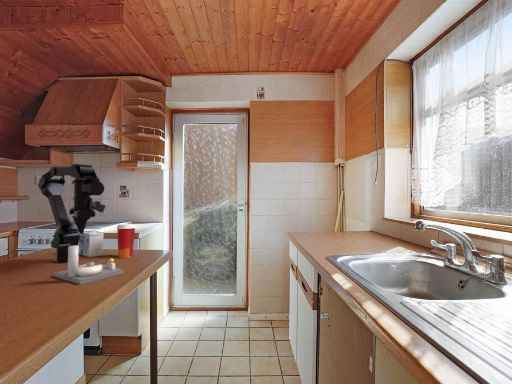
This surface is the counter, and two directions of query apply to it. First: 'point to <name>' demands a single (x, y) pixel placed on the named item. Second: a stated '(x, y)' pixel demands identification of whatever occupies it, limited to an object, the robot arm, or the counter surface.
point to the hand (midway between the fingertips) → (81, 233)
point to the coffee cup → (125, 240)
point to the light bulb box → (91, 243)
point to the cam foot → (83, 269)
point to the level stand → (106, 272)
